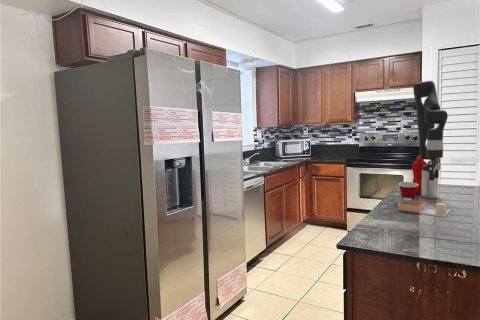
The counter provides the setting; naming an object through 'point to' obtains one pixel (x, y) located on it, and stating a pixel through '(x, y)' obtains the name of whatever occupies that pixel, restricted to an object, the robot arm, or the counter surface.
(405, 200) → the grey stacked cube
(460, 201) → the counter surface
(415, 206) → the dish
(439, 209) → the beige wooden cube
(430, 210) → the tray
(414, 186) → the plastic cup
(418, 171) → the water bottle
